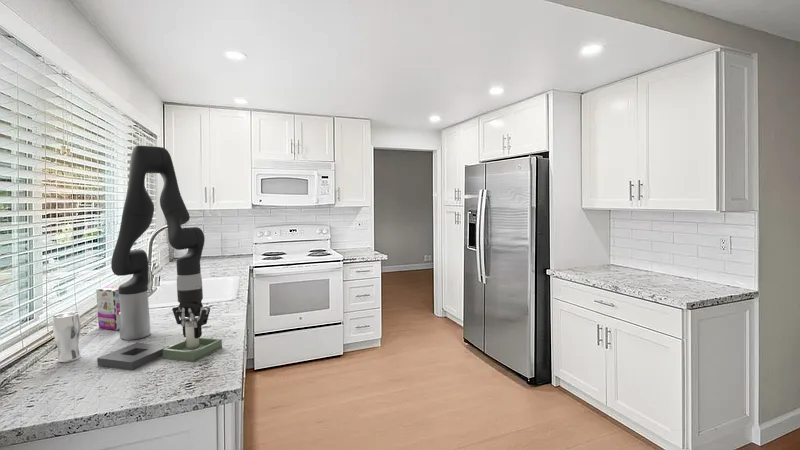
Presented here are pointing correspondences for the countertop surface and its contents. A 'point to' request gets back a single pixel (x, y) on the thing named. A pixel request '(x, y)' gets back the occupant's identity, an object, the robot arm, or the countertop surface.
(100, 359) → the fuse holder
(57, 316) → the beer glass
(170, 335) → the countertop surface
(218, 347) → the tray
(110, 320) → the candy bar box
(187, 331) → the fuse
